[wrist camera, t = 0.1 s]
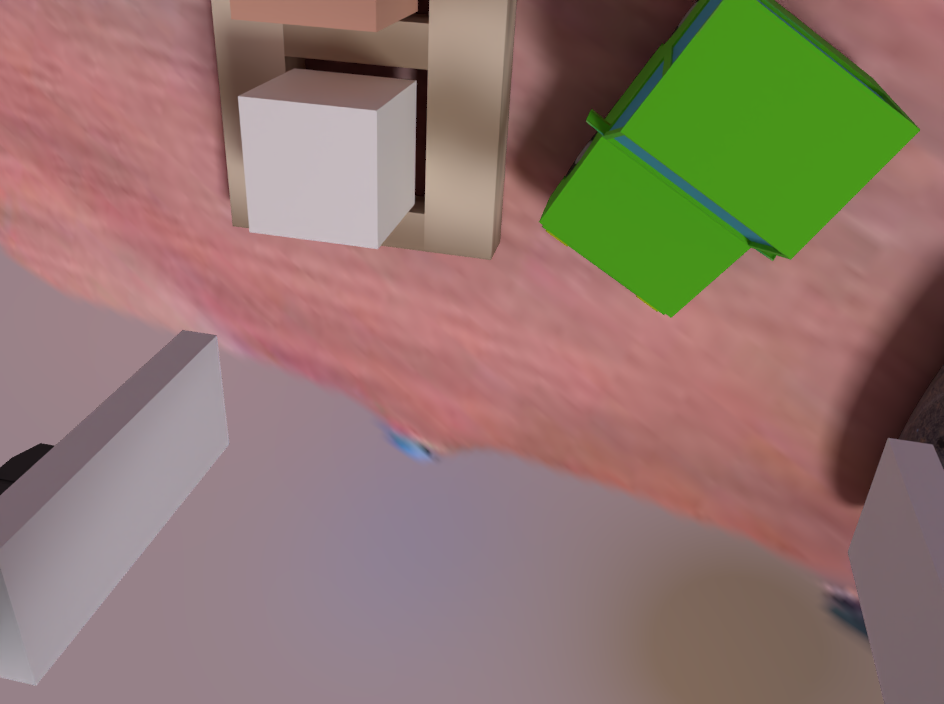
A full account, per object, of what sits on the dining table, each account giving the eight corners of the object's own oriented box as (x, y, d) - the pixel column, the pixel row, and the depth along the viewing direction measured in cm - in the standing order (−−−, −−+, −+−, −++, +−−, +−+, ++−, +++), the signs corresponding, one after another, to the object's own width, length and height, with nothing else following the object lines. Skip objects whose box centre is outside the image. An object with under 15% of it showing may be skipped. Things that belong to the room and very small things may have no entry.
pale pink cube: (294, 68, 41) (237, 96, 35) (416, 80, 40) (376, 110, 34) (300, 190, 43) (249, 232, 38) (414, 204, 43) (377, 248, 37)
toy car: (528, 181, 44) (490, 256, 35) (704, -57, 37) (711, -36, 28) (686, 296, 45) (686, 396, 36) (885, 86, 38) (943, 147, 29)
